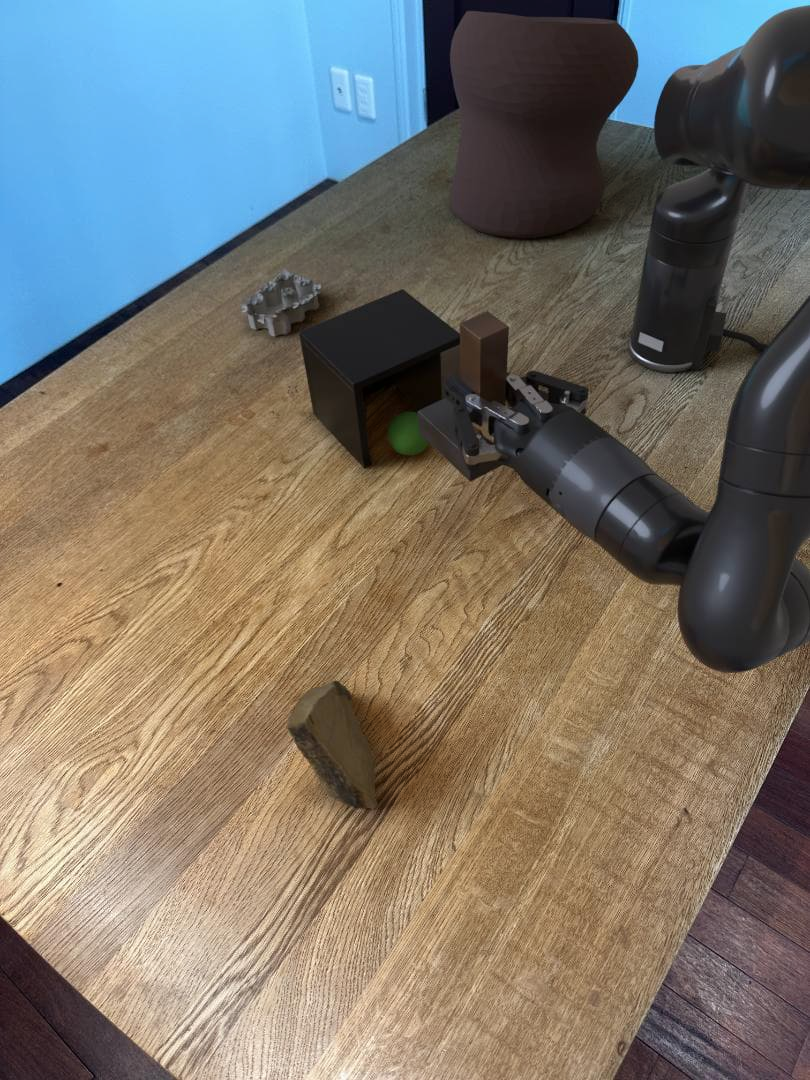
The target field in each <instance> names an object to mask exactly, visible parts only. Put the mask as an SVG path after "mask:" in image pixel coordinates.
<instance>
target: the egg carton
mask: <svg viewBox="0 0 810 1080" xmlns="http://www.w3.org/2000/svg"><path fill="white" fill-rule="evenodd" d="M322 287H323V285H322V284H320V283H318V284H316V283H314V282H313V280H312V279H310V278H309V279H307V278H305V277H304V276H300V275H299V274H298V273H295V274H293V273H292V272H290V271H289V270H287V269H286V268H283V269H281V271H280V272H279V273H278V274H277V275H276V276H275V278H274V279H271V280H270V281H269V283H268V282H265V283H264V284H263V285H262V286H261V288H259V289H257V290H256V291H255V292H254V293H253V294H251V295H248V296H246V297H244V298H243V299H242V302H241V306H240V312H241V313H247V318H248V324H249V327H250V328H251V330H254V331H257V330H259V329H267V330H268V334H269V335H270V336H272V337H274V338H275V337H277V336H281V335H288V334H289V333H290V332H292V328H291V327H292V325H291V324H294V323H301V322H303V320H305V319H306V316H305V313H306V312H307V311H310V310H312V311H316V310H318V309H319V308H320V303H319V300H318V299H319V298H318V297H319V294H321V288H322Z"/></svg>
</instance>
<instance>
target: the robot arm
mask: <svg viewBox="0 0 810 1080" xmlns="http://www.w3.org/2000/svg"><path fill="white" fill-rule="evenodd" d="M668 77H669V78H667V80H666V82H665V83H664V85H663V87H662V89H661V92H660V95H659V97H658V101H657V104H656V108H655V113H654V121H653V136H654V144H655V147H656V151H657V153H658V155H659V157H660V158H661V160H662V161H663V162H665V163H666V164H668V165H672V166H676V167H705V168H708V169H707V170H705V171H702V172H701V173H700V174H699V173H698V174H697V175H696V176H693V177H689V178H687V179H684V180H682V181H679V182H676V183H673V184H671V185H669V186H668V187H666V188H665V189H663V190H662V191H661V192H660V193H659V194H658V196H657V197H656V199H655V203H654V205H653V211H652V216H651V221H650V227H649V232H648V238H647V244H646V249H645V254H644V260H643V266H642V271H641V277H640V283H639V288H638V293H637V300H636V305H635V310H634V316H633V321H632V327H631V331H630V336H629V339H628V344H627V351H628V353H629V356H630V357H631V358H632V359H633V361H635V362H636V363H637V364H638V365H641V366H642V367H644V368H646V369H649V370H652V371H656V372H660V373H680V372H681V373H682V372H685V371H689V370H695V371H700V370H701V367H702V364H703V361H704V356H705V352H706V351H711V352H717V353H718V352H719V351H720V349H721V344H722V340H723V337H725V338H729V339H733V340H738V341H740V342H743V343H747V344H748V345H750V346H751V347H752V348H753V349H754V350H757V351H759V352H760V351H761V353H760V355H759V356H758V357H757V359H755V361H754V362H753V363H752V365H751V367H750V368H749V370H748V371H747V373H746V374H745V376H744V378H743V379H742V381H741V383H740V385H739V388H738V389H737V391H736V393H735V396H734V399H733V401H732V405H731V408H730V411H729V416H728V420H727V426H726V432H725V437H724V444H723V448H722V455H721V462H720V468H719V473H718V474H719V475H718V479H717V480H718V481H717V490H716V496H715V500H714V502H713V505H712V507H711V509H710V511H708V510H705V509H703V508H702V507H700V506H698V505H697V504H696V503H695V502H694V501H692V500H691V499H690V498H689V497H688V496H686V495H685V494H684V493H682V492H681V491H680V490H679V489H678V488H676V487H675V486H674V485H672V484H671V483H670V482H668V481H667V480H665V478H663V477H661V476H660V475H659V474H658V473H657V472H655V470H653V468H651V467H650V465H649V464H648V463H647V462H646V461H645V460H644V459H643V458H642V457H640V456H639V455H638V454H637V453H635V452H634V451H633V450H632V449H631V448H629V447H628V446H626V445H625V444H623V442H621V441H620V440H618V439H617V438H616V437H615V436H613V435H612V434H611V433H610V432H608V431H606V430H605V429H604V428H603V427H601V426H600V425H599V424H598V423H596V422H595V421H593V420H592V419H591V418H589V417H588V416H587V415H586V412H587V406H588V399H589V392H590V391H589V388H587V387H586V386H583V385H580V384H577V383H574V382H571V381H569V380H565V379H561V378H559V377H556V376H553V375H550V374H547V373H543V372H540V371H538V370H529V371H527V372H526V375H525V376H519V375H518V374H510V373H509V372H508V371H507V380H506V402H505V403H507V405H508V406H509V407H507V406H506V405H505V406H503V405H502V404H500V403H498V402H496V401H492V402H488V401H487V400H485V399H483V398H481V397H480V396H478V395H476V394H475V391H473V390H472V389H471V388H470V387H469V386H467V385H466V384H465V383H464V382H463V381H461V380H460V378H458V377H457V376H456V375H455V374H453V373H452V374H449V375H447V376H445V383H444V393H445V398H446V399H447V400H448V401H449V402H450V403H451V404H453V405H454V406H455V407H454V408H453V415H454V426H453V430H454V434H455V437H456V440H457V443H458V447H459V450H460V453H461V456H462V459H463V462H464V465H465V468H466V469H467V470H469V471H476V470H477V469H478V468H479V463H480V462H486V461H493V460H497V461H498V462H499V463H500V464H502V466H505V467H508V468H510V469H512V470H513V471H515V472H516V474H517V475H518V477H519V478H520V480H521V481H522V482H523V483H524V485H525V486H527V487H528V488H529V489H530V491H532V492H533V493H534V494H536V495H537V496H538V497H539V498H540V499H541V500H542V501H544V503H546V504H547V505H548V506H549V507H550V508H552V509H553V510H554V511H555V512H556V513H557V515H559V516H561V517H562V519H564V520H565V521H566V522H567V523H569V524H570V525H571V526H572V527H573V528H574V529H575V530H576V531H578V532H579V533H581V534H582V535H583V536H585V537H586V538H589V539H590V540H592V541H593V542H594V543H596V544H597V545H598V546H600V547H601V548H602V549H603V550H604V551H605V552H606V553H607V554H608V555H610V556H611V557H612V559H614V561H616V562H618V563H619V565H621V566H622V567H623V568H624V569H625V570H626V571H628V573H630V574H631V575H633V577H635V578H637V579H639V581H641V582H644V583H646V584H650V585H654V586H655V585H656V586H678V587H679V591H678V597H677V620H678V627H679V631H680V635H681V638H682V640H683V642H684V644H685V646H686V648H687V649H688V651H689V652H690V654H691V655H692V656H693V657H694V658H695V659H696V660H697V661H698V662H699V663H700V664H702V665H703V666H705V667H707V668H709V669H711V670H712V671H716V672H720V673H724V674H725V673H726V674H740V673H744V672H748V671H753V670H754V669H757V668H759V667H761V666H764V665H766V664H767V663H769V662H772V661H773V660H776V659H778V658H780V657H782V656H784V655H786V654H788V653H790V652H792V651H795V650H797V649H798V648H800V647H803V646H804V645H806V644H807V643H809V642H810V569H809V568H808V567H807V566H806V565H805V563H803V562H802V561H801V560H799V559H798V558H797V555H798V553H799V551H800V549H801V548H802V547H803V546H804V544H805V543H806V542H807V541H808V540H810V294H809V295H808V297H807V298H806V299H805V300H804V301H803V303H802V304H801V305H800V306H799V308H798V309H797V310H796V311H795V313H794V314H793V315H792V317H791V318H790V319H789V320H787V322H786V323H785V324H784V326H783V327H782V328H781V329H780V330H779V331H778V333H777V334H776V335H775V336H774V337H773V338H772V339H771V341H770V342H769V344H765V343H762V342H759V341H758V340H757V338H756V337H753V336H751V335H749V334H746V333H743V332H739V331H735V330H731V329H726V328H725V324H726V320H727V315H728V314H727V312H723V311H722V312H721V311H717V307H718V303H719V298H720V293H721V288H722V284H723V280H724V278H725V277H724V276H725V273H726V269H727V265H728V262H729V258H730V255H731V250H732V247H733V243H734V238H735V235H736V233H737V232H736V231H737V228H738V225H739V220H740V217H741V214H742V210H743V208H744V204H745V201H746V198H747V194H748V190H749V186H750V185H751V186H754V187H759V188H762V189H769V190H777V191H779V190H781V191H789V190H793V191H810V4H809V5H803V6H795V7H792V8H787V9H784V10H782V11H780V12H777V13H776V14H774V15H773V16H770V18H768V19H767V20H766V21H764V23H762V24H761V25H760V26H758V28H756V30H755V31H754V32H753V34H751V36H750V37H749V38H748V40H747V41H746V42H745V43H744V44H743V45H741V46H738V47H736V48H734V49H732V50H730V51H727V52H726V53H724V54H722V55H720V56H719V57H718V58H716V59H714V60H712V61H710V62H708V63H706V64H691V65H690V64H689V65H684V66H682V67H679V68H677V69H675V71H674V72H672V74H671V75H670V76H668ZM540 387H542V388H546V389H547V390H548V392H547V391H544V390H541V389H540ZM479 412H480V413H481V414H482V415H481V414H479ZM473 426H474V427H476V428H478V429H479V430H481V432H482V434H483V436H484V437H485V438H487V439H489V440H490V441H492V442H494V445H490V444H488V443H486V441H485V440H484V439H482V436H481V435H477V436H476V433H475V430H474V427H473Z"/></svg>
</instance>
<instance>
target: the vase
mask: <svg viewBox="0 0 810 1080" xmlns="http://www.w3.org/2000/svg"><path fill="white" fill-rule="evenodd" d="M449 62H450V63H449V64H450V71H451V76H452V82H453V83H452V84H453V89H454V92H455V93H454V94H455V97H456V100H457V103H458V108H459V114H460V136H459V143H458V150H457V154H456V161H455V166H454V171H453V176H452V181H451V186H450V190H449V197H448V199H449V205H450V208H451V210H452V212H453V213H454V215H455V216H456V218H457V219H458V220H459V221H460V222H462V223H463V224H465V225H466V226H467V227H469V228H471V229H473V230H475V231H477V232H479V233H483V234H487V235H491V236H494V237H495V236H496V237H503V238H516V239H534V238H535V239H537V238H542V237H549V236H554V235H558V234H562V233H565V232H567V231H571V230H572V229H573V230H574V229H575V228H576V227H578V226H579V225H581V224H583V223H585V222H586V221H587V220H588V219H590V218H591V217H592V216H593V215H594V213H596V211H597V209H598V208H599V205H600V204H601V201H602V199H603V197H604V193H605V190H606V177H605V171H604V169H603V167H602V165H601V162H600V159H599V157H598V150H597V145H598V141H599V137H600V134H601V132H602V130H603V128H604V126H605V125H606V122H607V120H608V119H609V118H610V116H611V115H612V114H613V112H615V110H616V109H617V108H618V106H620V104H621V103H622V102H623V100H624V99H625V97H626V96H627V95H628V93H629V92H630V90H631V88H632V87H633V85H634V82H635V80H636V78H637V73H638V71H639V70H638V69H639V52H638V49H637V47H636V45H635V43H634V41H633V39H632V37H631V36H630V34H629V33H628V32H627V31H626V29H625V28H624V27H623V26H622V25H621V24H620V23H619V22H618V21H616V20H613V19H606V18H595V17H570V16H569V17H568V16H567V17H565V16H559V17H557V16H523V15H516V14H509V13H502V12H501V13H500V12H489V11H486V12H485V11H477V10H467V11H466V12H465V13H464V15H463V16H462V18H461V20H460V21H459V23H458V25H457V27H456V29H455V30H454V33H453V37H452V39H451V44H450V52H449Z"/></svg>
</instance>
